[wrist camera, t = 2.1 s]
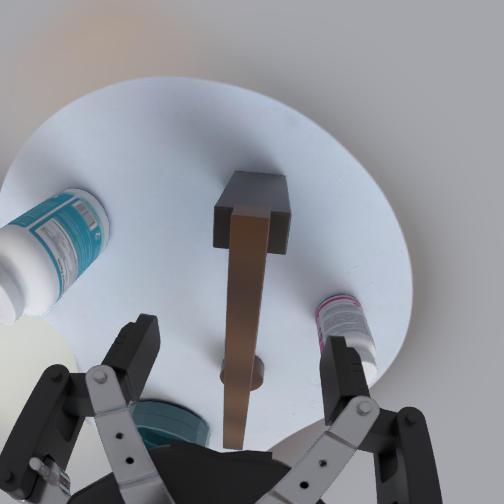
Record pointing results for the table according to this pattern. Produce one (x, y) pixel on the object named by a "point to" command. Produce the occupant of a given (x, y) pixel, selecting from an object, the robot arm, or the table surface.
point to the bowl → (167, 424)
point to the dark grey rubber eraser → (255, 193)
